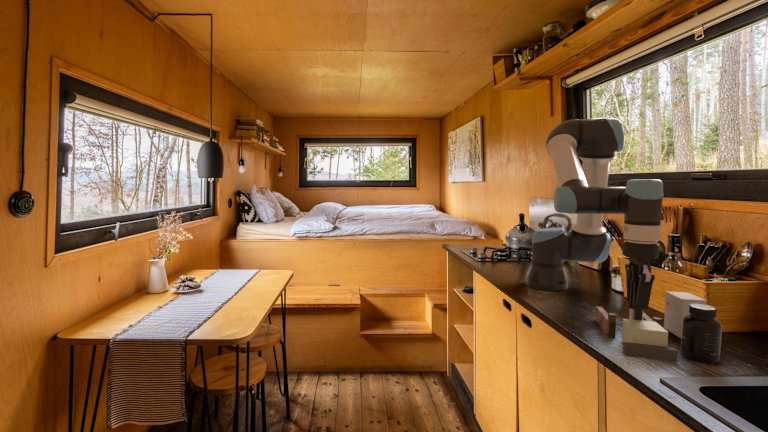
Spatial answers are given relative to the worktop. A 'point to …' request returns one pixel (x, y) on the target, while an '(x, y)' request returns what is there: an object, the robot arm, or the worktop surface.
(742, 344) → the worktop surface
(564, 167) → the robot arm
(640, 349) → the bar
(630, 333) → the block
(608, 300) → the worktop surface
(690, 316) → the supplement bottle
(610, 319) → the chute
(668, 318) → the small box
